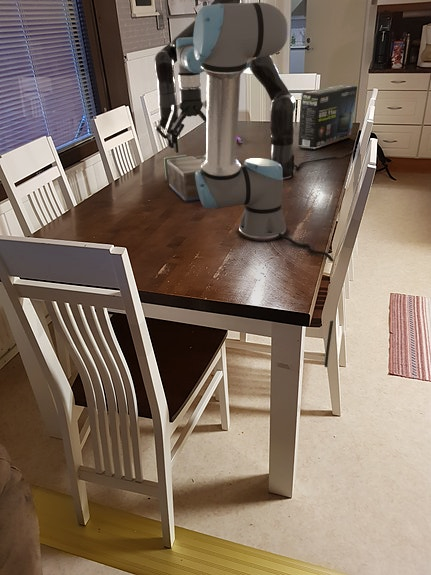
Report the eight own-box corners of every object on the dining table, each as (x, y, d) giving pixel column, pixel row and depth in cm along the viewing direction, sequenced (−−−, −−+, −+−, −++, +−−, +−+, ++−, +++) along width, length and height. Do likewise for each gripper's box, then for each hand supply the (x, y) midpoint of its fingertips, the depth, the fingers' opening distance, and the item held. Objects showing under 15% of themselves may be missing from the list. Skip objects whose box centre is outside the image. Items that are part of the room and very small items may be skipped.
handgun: (221, 137, 265) (221, 133, 264) (234, 135, 266) (234, 132, 265) (229, 145, 248) (229, 141, 247) (243, 143, 249) (243, 140, 248)
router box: (314, 151, 231) (318, 94, 217) (296, 148, 237) (299, 92, 224) (352, 138, 251) (358, 85, 238) (335, 135, 258) (340, 83, 245)
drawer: (161, 175, 203) (159, 154, 198) (182, 172, 206) (181, 151, 201) (180, 193, 182) (178, 170, 177) (203, 189, 185) (202, 166, 180)
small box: (169, 186, 193) (166, 159, 187) (193, 182, 197) (192, 155, 191) (185, 202, 176) (183, 173, 170) (212, 197, 179) (211, 169, 174)
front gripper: (218, 83, 166) (220, 143, 177) (152, 89, 159) (158, 151, 170) (227, 85, 160) (228, 147, 171) (158, 92, 153) (164, 156, 164)
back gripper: (180, 102, 193) (183, 144, 202) (149, 105, 189) (154, 147, 198) (186, 104, 187) (188, 147, 196) (154, 108, 183) (159, 151, 192)
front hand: (193, 149), depth 171 cm, fingers open, 13 cm apart
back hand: (171, 147), depth 197 cm, fingers closed
